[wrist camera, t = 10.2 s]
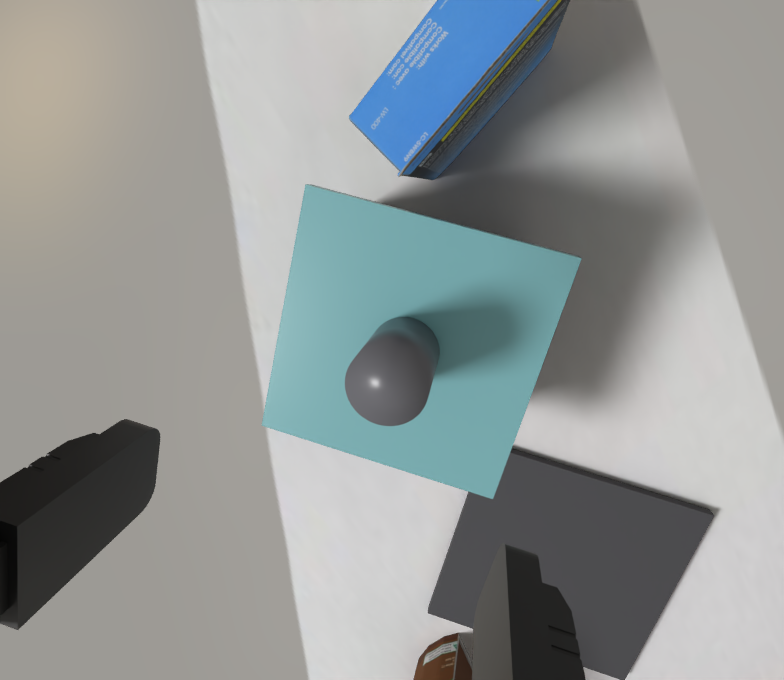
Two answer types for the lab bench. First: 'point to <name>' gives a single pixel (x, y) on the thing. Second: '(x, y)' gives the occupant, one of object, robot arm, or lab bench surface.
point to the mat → (577, 552)
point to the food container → (445, 661)
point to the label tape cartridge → (454, 78)
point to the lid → (412, 338)
